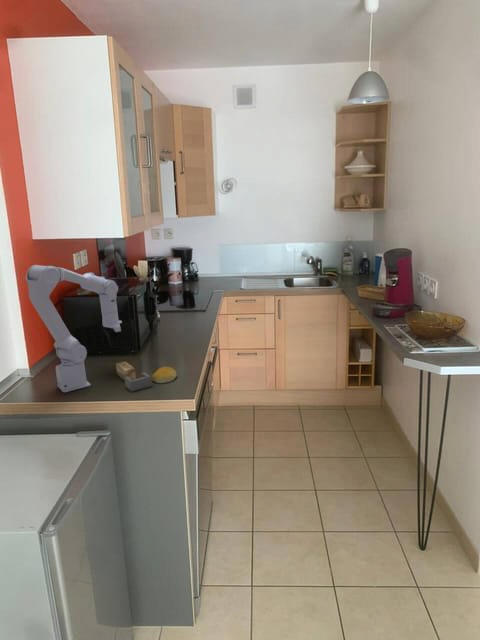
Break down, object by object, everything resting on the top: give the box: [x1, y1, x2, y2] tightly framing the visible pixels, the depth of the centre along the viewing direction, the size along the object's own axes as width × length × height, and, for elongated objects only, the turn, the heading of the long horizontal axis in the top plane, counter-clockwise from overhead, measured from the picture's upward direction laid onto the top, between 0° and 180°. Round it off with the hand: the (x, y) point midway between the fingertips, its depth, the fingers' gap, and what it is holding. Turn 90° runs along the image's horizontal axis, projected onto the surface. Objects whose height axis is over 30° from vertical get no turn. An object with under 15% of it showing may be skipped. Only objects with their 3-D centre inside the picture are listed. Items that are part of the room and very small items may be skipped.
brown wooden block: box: [115, 360, 137, 381], centre depth 172 cm, size 4×10×4 cm, turn 33°
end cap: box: [124, 371, 153, 392], centre depth 162 cm, size 7×6×4 cm
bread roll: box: [151, 366, 178, 384], centre depth 168 cm, size 8×9×4 cm
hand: (114, 346), depth 178 cm, fingers closed
